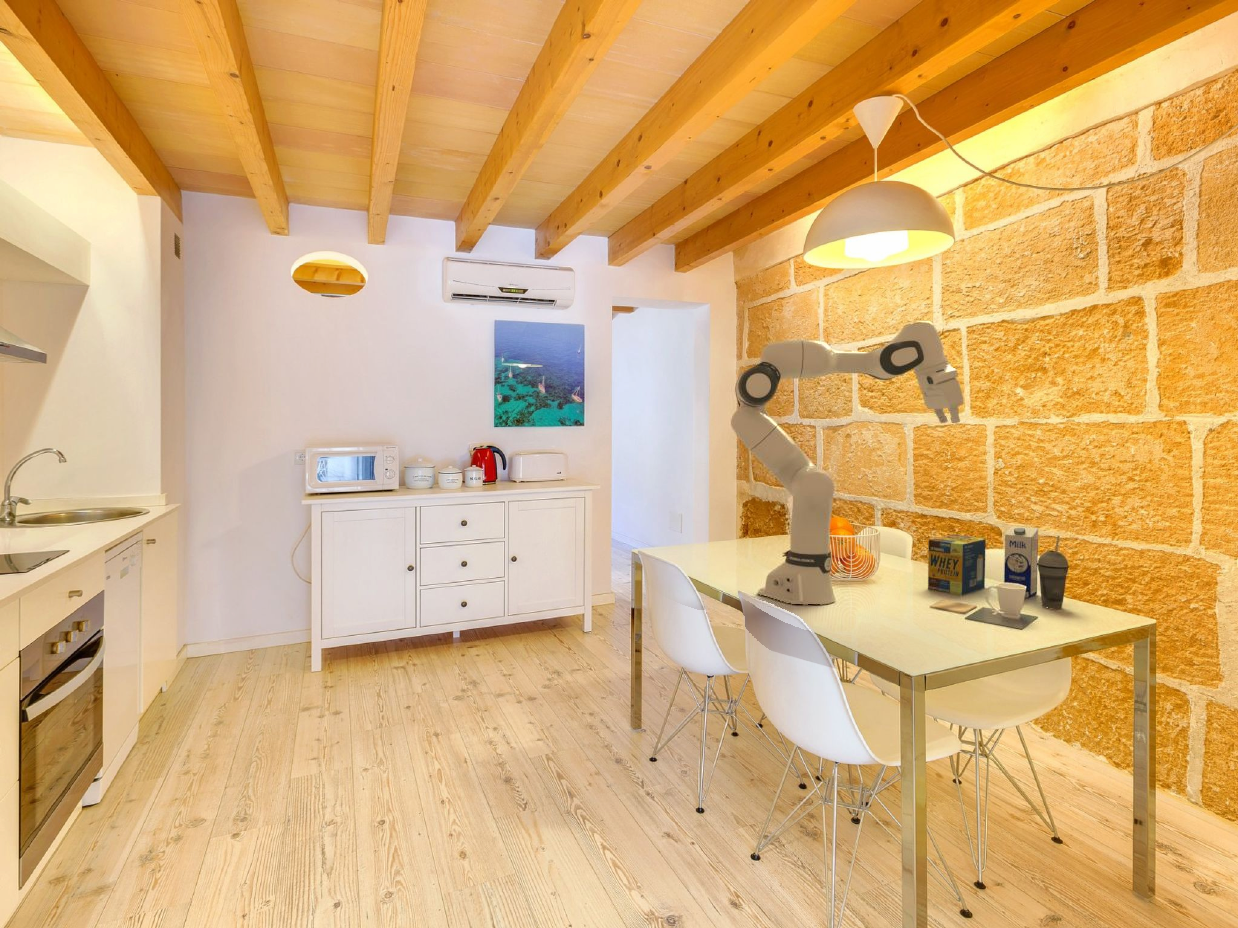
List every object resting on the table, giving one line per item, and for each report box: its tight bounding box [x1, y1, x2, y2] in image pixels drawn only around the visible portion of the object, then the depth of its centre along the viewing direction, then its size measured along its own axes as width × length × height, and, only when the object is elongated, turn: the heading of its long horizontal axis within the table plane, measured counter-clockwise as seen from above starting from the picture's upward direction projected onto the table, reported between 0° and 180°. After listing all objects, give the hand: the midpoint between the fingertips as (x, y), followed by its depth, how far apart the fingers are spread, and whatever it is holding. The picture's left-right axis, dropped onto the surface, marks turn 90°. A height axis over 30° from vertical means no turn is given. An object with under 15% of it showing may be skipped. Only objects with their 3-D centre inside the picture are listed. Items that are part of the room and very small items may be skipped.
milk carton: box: [1003, 525, 1040, 599], centre depth 190 cm, size 7×7×20 cm
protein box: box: [927, 534, 987, 596], centre depth 199 cm, size 10×15×16 cm
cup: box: [985, 582, 1026, 618], centre depth 170 cm, size 7×10×8 cm
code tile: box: [964, 606, 1039, 630], centre depth 168 cm, size 13×14×1 cm
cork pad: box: [929, 599, 977, 615], centre depth 178 cm, size 9×9×1 cm
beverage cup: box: [1037, 535, 1070, 610], centre depth 177 cm, size 7×7×20 cm
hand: (950, 422), depth 181 cm, fingers open, 8 cm apart
